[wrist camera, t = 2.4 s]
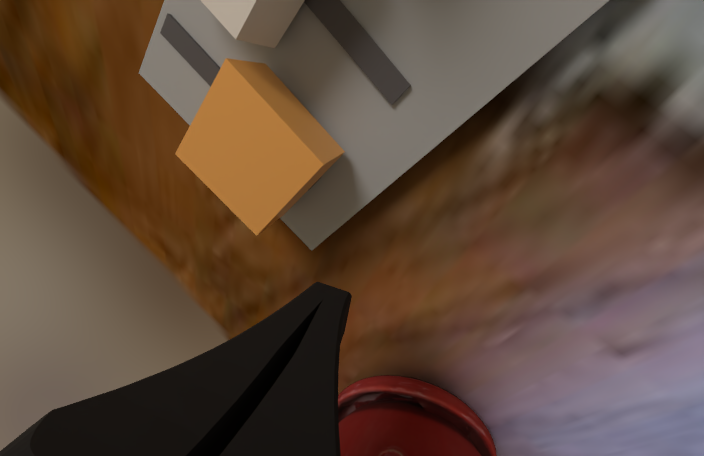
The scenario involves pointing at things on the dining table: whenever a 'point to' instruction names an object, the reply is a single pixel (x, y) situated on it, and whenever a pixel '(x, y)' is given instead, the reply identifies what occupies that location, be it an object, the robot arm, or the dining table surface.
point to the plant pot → (408, 420)
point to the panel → (367, 78)
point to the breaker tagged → (256, 144)
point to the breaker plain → (255, 18)
